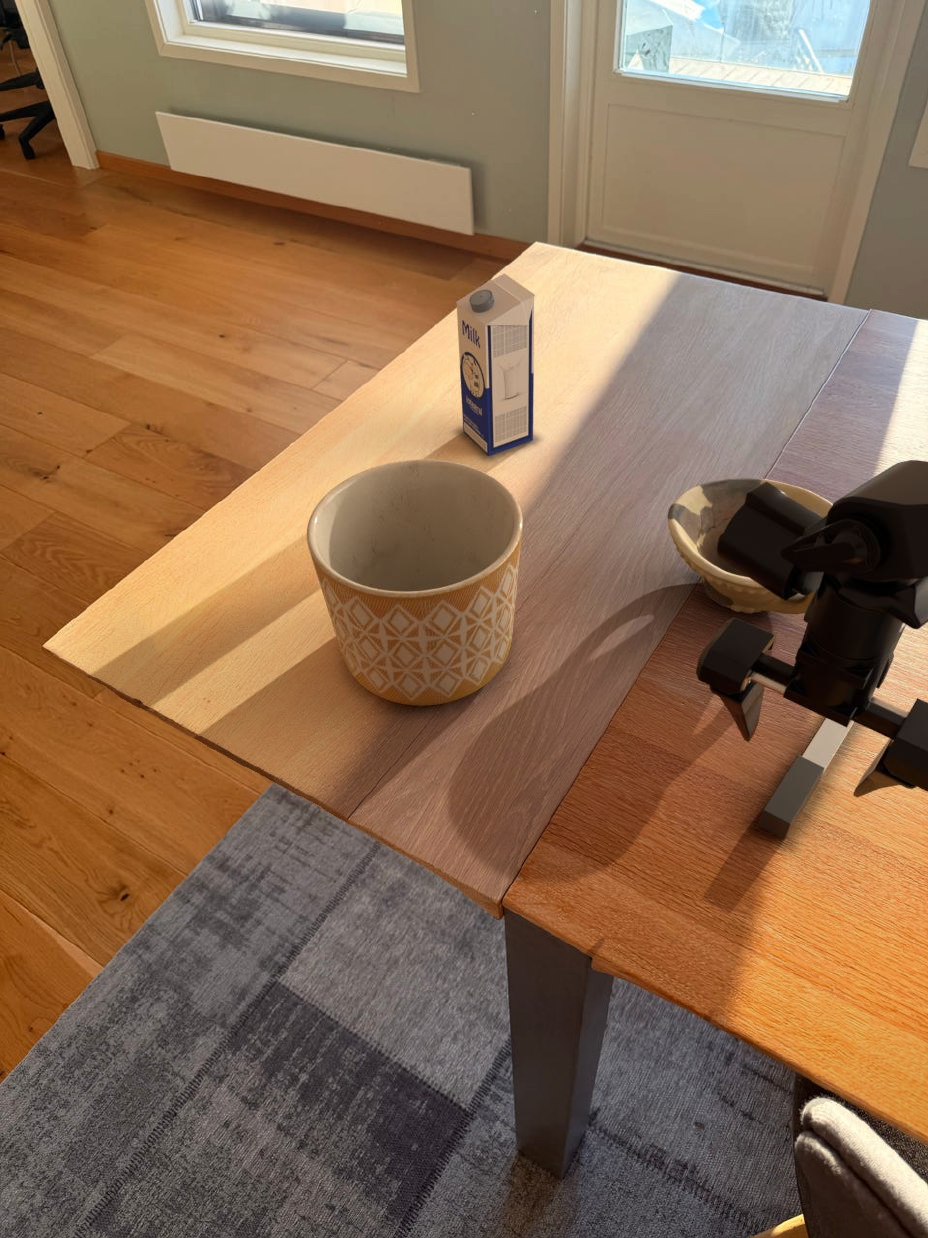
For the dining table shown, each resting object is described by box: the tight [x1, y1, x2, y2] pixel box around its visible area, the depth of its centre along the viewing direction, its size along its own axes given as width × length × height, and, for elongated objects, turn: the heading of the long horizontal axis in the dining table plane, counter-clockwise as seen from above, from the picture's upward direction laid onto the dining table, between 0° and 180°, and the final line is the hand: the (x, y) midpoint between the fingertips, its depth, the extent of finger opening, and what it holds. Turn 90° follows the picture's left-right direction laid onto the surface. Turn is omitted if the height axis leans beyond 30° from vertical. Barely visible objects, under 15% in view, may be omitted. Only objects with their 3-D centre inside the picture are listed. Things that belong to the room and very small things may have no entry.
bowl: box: [667, 477, 833, 615], centre depth 93 cm, size 18×18×10 cm
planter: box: [306, 459, 524, 707], centre depth 87 cm, size 19×19×16 cm
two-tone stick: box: [757, 718, 855, 841], centre depth 79 cm, size 17×2×2 cm, turn 142°
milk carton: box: [455, 273, 536, 457], centre depth 112 cm, size 7×7×20 cm
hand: (801, 764), depth 74 cm, fingers open, 9 cm apart
